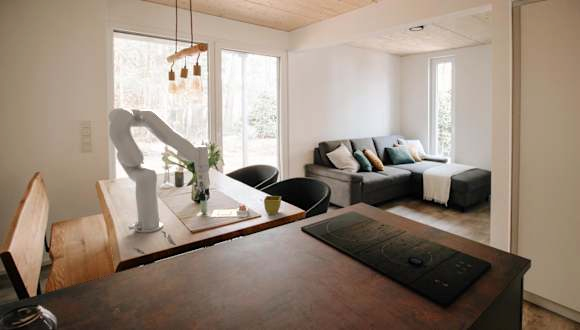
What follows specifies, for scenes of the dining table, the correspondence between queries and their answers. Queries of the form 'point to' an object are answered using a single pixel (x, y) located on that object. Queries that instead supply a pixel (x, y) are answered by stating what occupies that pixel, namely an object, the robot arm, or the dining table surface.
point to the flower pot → (272, 204)
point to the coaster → (204, 214)
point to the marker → (204, 206)
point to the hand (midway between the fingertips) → (204, 197)
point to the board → (230, 213)
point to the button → (242, 207)
